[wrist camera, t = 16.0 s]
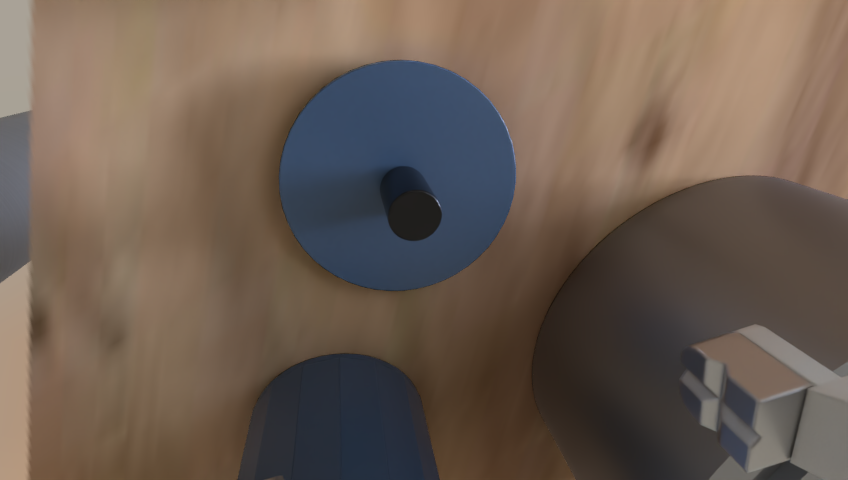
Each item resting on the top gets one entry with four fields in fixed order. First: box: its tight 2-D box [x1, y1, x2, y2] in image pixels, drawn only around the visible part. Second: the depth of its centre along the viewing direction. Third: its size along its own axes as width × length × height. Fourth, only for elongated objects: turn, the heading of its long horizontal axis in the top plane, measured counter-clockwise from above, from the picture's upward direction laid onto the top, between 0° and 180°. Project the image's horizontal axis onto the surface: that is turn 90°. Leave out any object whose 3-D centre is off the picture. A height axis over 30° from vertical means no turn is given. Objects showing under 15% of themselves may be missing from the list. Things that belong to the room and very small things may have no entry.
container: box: [532, 176, 848, 480], centre depth 27 cm, size 25×25×13 cm
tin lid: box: [279, 60, 516, 291], centre depth 22 cm, size 12×12×5 cm
